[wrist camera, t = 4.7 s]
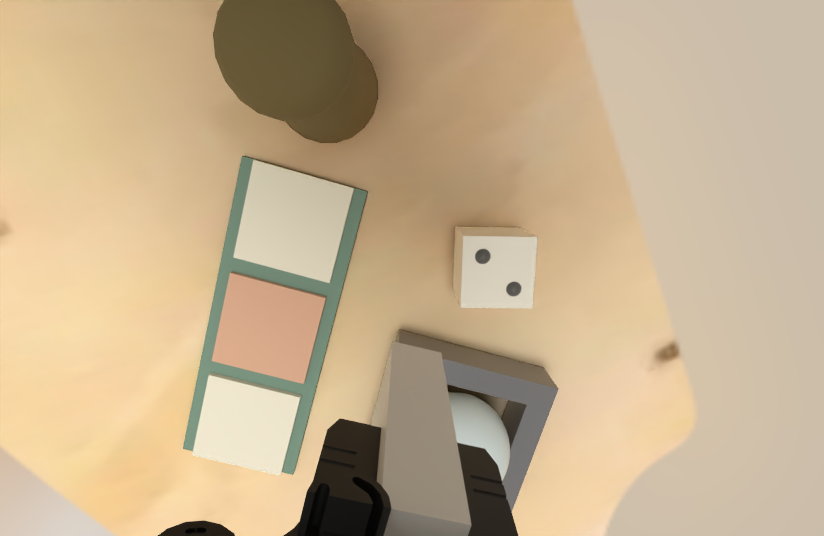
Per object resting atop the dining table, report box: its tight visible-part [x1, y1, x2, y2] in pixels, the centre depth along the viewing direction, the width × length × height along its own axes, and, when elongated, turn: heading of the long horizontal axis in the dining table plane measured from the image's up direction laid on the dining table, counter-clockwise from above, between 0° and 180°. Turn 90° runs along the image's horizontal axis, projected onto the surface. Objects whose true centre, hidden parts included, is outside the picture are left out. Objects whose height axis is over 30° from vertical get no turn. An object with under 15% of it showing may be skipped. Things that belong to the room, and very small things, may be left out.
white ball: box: [448, 392, 510, 481], centre depth 28 cm, size 6×6×6 cm
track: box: [183, 156, 367, 476], centre depth 29 cm, size 20×8×1 cm, turn 164°
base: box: [395, 330, 558, 512], centre depth 30 cm, size 10×10×3 cm
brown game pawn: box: [213, 0, 378, 143], centre depth 21 cm, size 6×6×11 cm
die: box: [453, 227, 538, 308], centre depth 27 cm, size 4×4×4 cm
